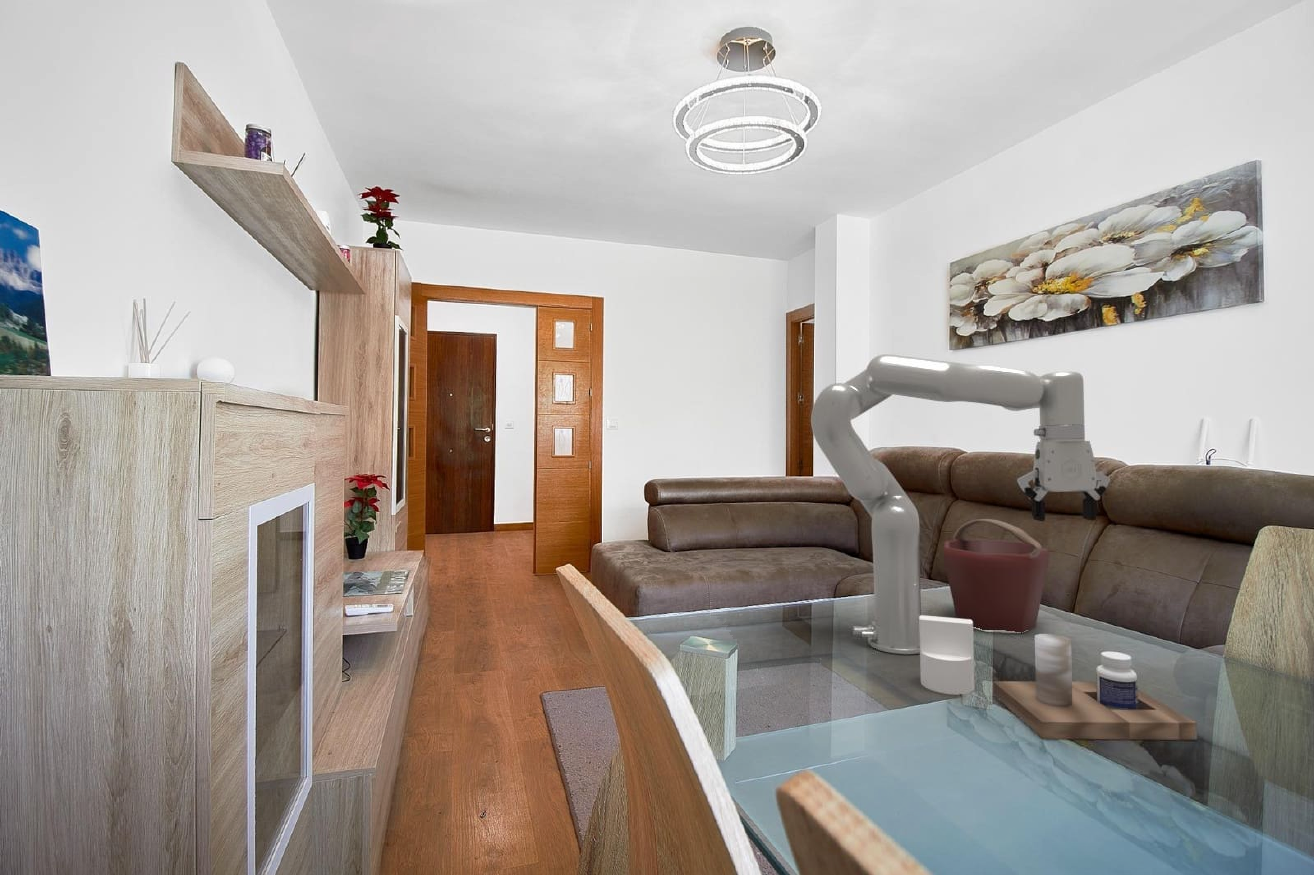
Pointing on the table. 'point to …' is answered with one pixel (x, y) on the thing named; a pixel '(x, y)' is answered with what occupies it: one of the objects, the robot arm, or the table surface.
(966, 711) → the table surface
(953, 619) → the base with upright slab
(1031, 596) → the bucket
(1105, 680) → the pill bottle
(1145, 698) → the pin board
